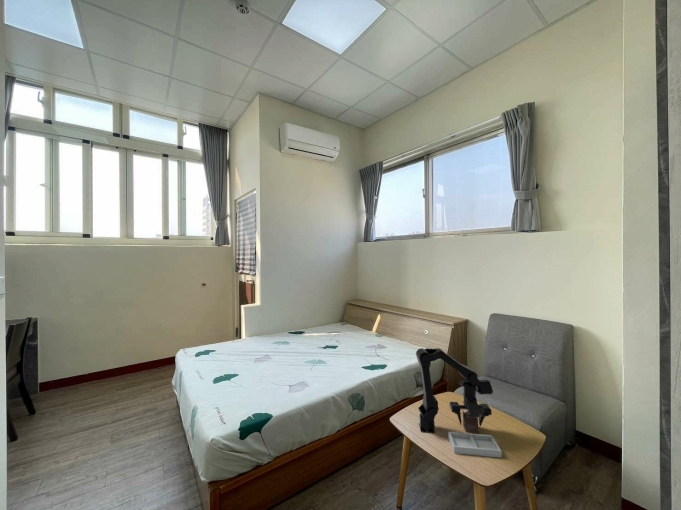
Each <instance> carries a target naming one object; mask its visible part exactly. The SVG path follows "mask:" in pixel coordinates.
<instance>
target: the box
mask: <svg viewBox="0 0 681 510" xmlns="http://www.w3.org/2000/svg"><path fill="white" fill-rule="evenodd" d="M462 425H463V428H464V431H465V433H475V434H478V433H479V417H471V416H470V415H469V413H468V410H462Z"/></svg>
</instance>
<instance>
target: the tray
mask: <svg viewBox="0 0 681 510" xmlns="http://www.w3.org/2000/svg"><path fill="white" fill-rule="evenodd" d="M447 433H448V434H447V436H448V438H447V439H448V440H449V444H450V446H451V448H452V451H453V454H458V455H459V454H460V455H469V456H470V455H471V456H482V457H492V458H493V457H494V458H502V456H503V453H502V452H503V451H502V449H501V448H500V446H499V445H498V443H497V441H496V439H495V438H494V437H493V435H492V434H482V433H480V434H478V433H471V432H457V431H447Z"/></svg>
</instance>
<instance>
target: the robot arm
mask: <svg viewBox="0 0 681 510" xmlns="http://www.w3.org/2000/svg"><path fill="white" fill-rule="evenodd" d="M415 355H416V360H417V362H418V364H419V367H420V372H421V375H420V376H421V381H422V386H423V387H422V389H423V397H422V403H421V405H420V406H419V407H418V411H419V423H418V425H419V429H420V432H421V433H432V434H434V433H435V418H436V416H437V415H438V413H439V410H440V408H439V401H438V400H437V398H436V396H435V395H434V393H433V386H432V380H431V377H432V376H431V373H430V372H431V371H430V368H431V363H432V362H435V361H437V360H442V361H443V362H445V363H446V364H447V365H448V366H451V367H452V368H453V369H454V370H456V371H457V372H458V373H459V374H460V375H461V376H462V377H463V378H464V379H465V380H464V379H461V380H460V381H459V382H458V384H459V385H460V386H461V387H463V393H462V396H463V401H462V403H463V404H459V402H458V401H450V402H449V404H448V405H449V408H450V410H451V412H452V413H453V414H454V415H456V416H457V420H458V422H459V424H460V425H462V413H461V410H462V411H468V413H469V415H470V416H471V417H478V427H481V426H482V424H483V422H484V420H485V418H486V417H490V416H492V414H493V413H492V412H493V411H492V409H491V407H490V406H489V405H488V404H487V403H478V399H477V394H478V395H483V396H485V395H490V396H491V395H493V393H494V389H493V387H492V384H491V381H490V380H489V379H479V378H478V374H477V373H476V371H474V370H473V369H472V368H470V367H469V366H468V365H465V364H462V363H461V362H458V360H456V359H454V358H453V357H452V356H450V355H449V354H447V353H446V352H445V351H444V350H442V348H439V347H438V348H437V347H436V348H421V347H420V348H419V349H417V350H416V352H415Z"/></svg>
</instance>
